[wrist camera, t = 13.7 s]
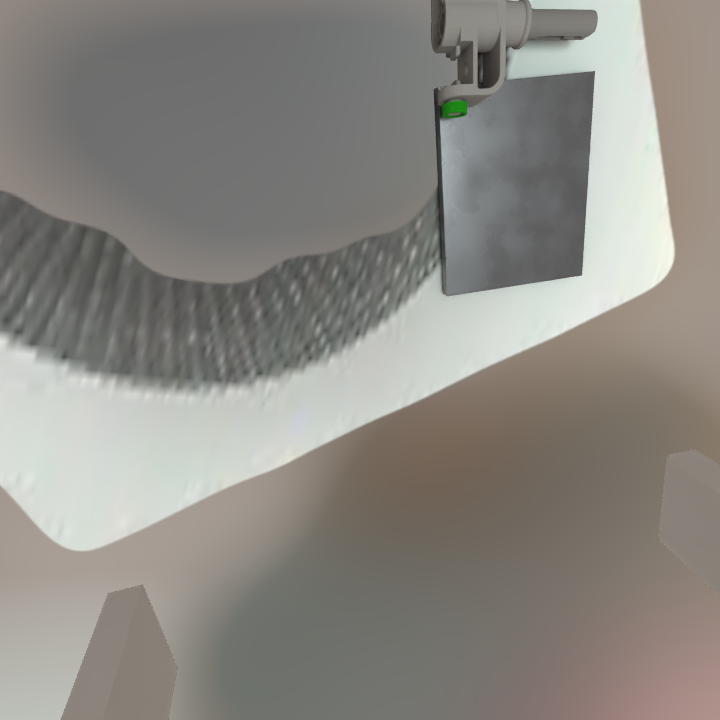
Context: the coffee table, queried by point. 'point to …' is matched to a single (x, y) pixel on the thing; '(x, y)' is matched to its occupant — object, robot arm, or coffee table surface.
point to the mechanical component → (493, 41)
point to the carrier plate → (515, 184)
